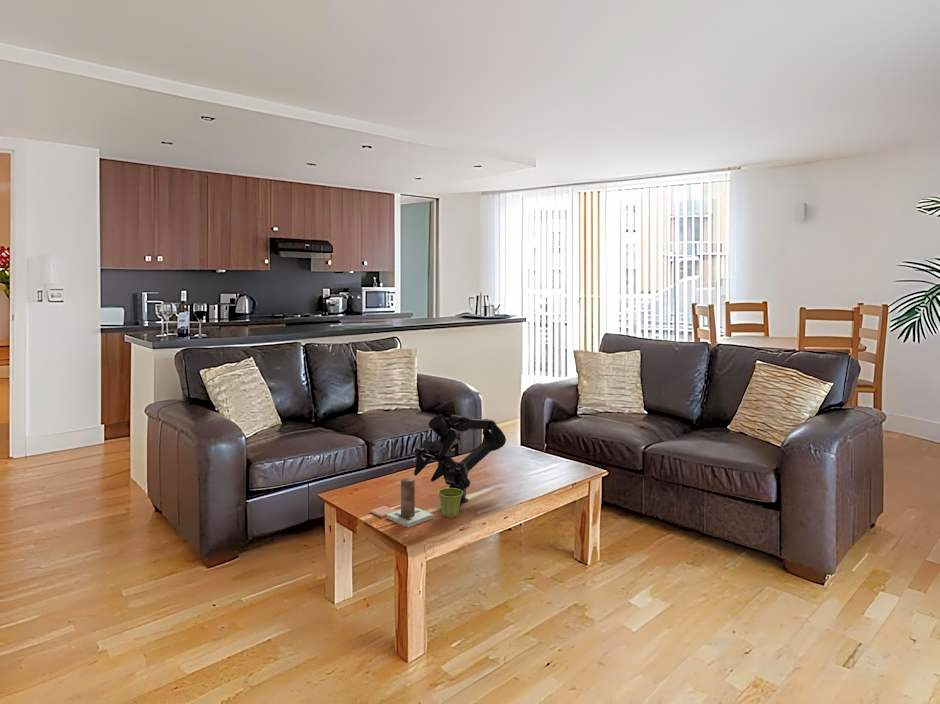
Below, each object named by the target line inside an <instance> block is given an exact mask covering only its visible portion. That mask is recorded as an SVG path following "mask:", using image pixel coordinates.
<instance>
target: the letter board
mask: <svg viewBox="0 0 940 704" xmlns="http://www.w3.org/2000/svg"><path fill="white" fill-rule="evenodd" d="M433 518H434V514H433V513H430V512H428V511H426V510H424V509H421V508H418V507H416V506H415V515H414V516H413V517H402V516H401V508H400V509H397V510H396V511H394V512H391V513H388V514H387V516H386V519H388V520H390V521H392V522H395V523H397V524H399V525H401V526H404V527H407V528H410V527H413V526H416V525H418V524H422V523H424V522H426V521H430V520H432V519H433Z"/></svg>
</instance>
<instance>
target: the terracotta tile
mask: <svg viewBox="0 0 940 704" xmlns="http://www.w3.org/2000/svg"><path fill="white" fill-rule="evenodd" d="M394 511H397V510H396V509H393V508H391V507H389V506H388V505H382V506H378V507H376V508H373V509H370V510H369V513H370V514H372V515H375V516H377V517H378V518H385V517H387V514H388V513H391V512H394Z"/></svg>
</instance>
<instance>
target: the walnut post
mask: <svg viewBox="0 0 940 704" xmlns="http://www.w3.org/2000/svg"><path fill="white" fill-rule="evenodd" d="M415 485H416V481H415V479H414V478H411V477H406V478H402V479H400V509H401V516H402V517H413V516H414V515H415V507H416V506H415V503H416V502H415V500H416V495H415V493H416V486H415Z"/></svg>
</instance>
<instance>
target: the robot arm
mask: <svg viewBox="0 0 940 704" xmlns="http://www.w3.org/2000/svg"><path fill="white" fill-rule="evenodd" d="M428 427H429V428H430V430H431V431H432V432H433V433H434V434H435V436H437V437H439V438H438V440H436V439H435V440H433V441H430V440H426V439H423V441H422V445H421V446H420V447H421V448H420V447H417V448H415V449H414V451H413V454H414V457H415V458H416V461H415V462H416V464H415V467H414V472H413V475H414V476H417V475H419V474H420V473H421V472H422V471H423V470H424V469H425V467H426V466H428V462H429V461H433V462H436V463H437V468H436V470H435V471H434V473H433V475H432V477H431V478H430V481H431V482H435V481H436V480H438V479H440V478H441V477H442V476H443V479H444V483H445V485H448V488H457V489H460V490H462V491H463V495H462V498H461V501H460V504H463V503H466V502H468V501H469V500H470V499H469V498H467V496H466V495H467V494H466V493H467V492H466V491H467V489H468V488H469V487H470V485H471V480H470V479H469V478H468V476H469V472H470V471H471V470H472V469H473V468H474V467H475V466H476V465H478V464H479V463H480V462H481V461H482V460H483V459H484V458H485V457H486V456H487V455H488V454H489V453H491V452H494V451H498V450H499V449H501V448H503V447H504V446H505V444H506V442H507V439H506V435H505V434H504V432H503V430H502V429H501V428H500V427H499V426H498V425H497V423H496V421H494V420H492V419H490V418H489V419H488V418H470V417H465V416H461V415H456V414H451V415H450V416H449V417H447V418H446V417H445V416H444V414H441V413H439V414H437V415H436V416H434V417H432V418H431V419H430V420H429V422H428ZM469 430H482V435H483V437H482V442H481V443H480V444H479V445H478V446H477V447H475V449H473V451H470V453H469V454H468V455H466V456H465V457H464V458H463V459H462V460H461V461H460V462H459V461H455V460H454V459H453V458H452V457H451V456H447V455H448V454H451V453H452V450H451V449H452V447H453V445H454V443H455V442H456V441H458V442H460V441H461V436H460V435H461V434H460V433H458V432H461V433H462V432H463V433H465V432H468V431H469ZM456 431H458V432H456Z"/></svg>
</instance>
